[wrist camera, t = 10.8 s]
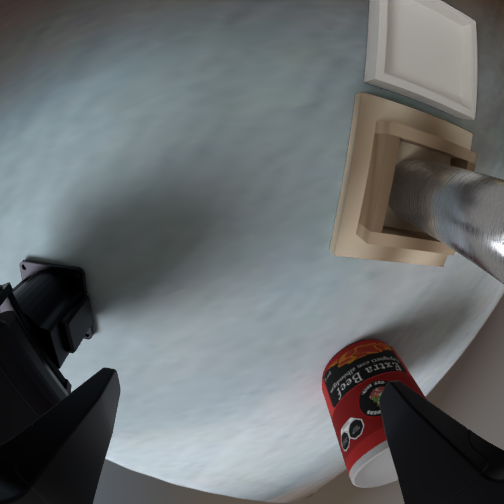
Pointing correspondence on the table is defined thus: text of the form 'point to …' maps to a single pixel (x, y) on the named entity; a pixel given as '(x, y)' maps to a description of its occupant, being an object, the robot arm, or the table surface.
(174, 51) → the table surface
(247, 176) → the table surface
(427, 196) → the cylinder
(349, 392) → the canned food
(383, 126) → the wooden socket base
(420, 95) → the tray
